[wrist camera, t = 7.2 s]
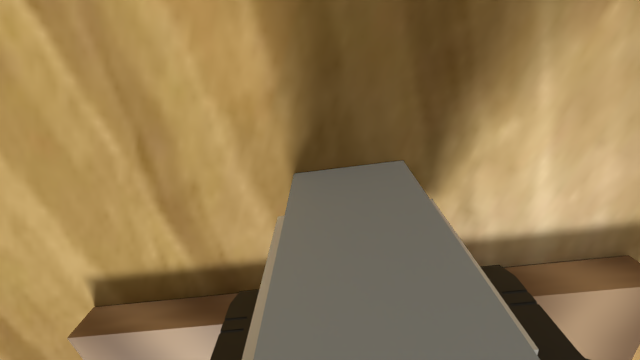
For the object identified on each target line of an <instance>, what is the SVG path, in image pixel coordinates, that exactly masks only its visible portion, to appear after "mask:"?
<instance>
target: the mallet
mask: <svg viewBox="0 0 640 360" xmlns="http://www.w3.org/2000/svg"><path fill="white" fill-rule="evenodd" d="M253 360H540V359H539V357H538V356H537V354H536V353H535V351H534V350H533V349H532V347H531V346H530V344H529V343H528V341H527V340H526V338H525V337H524V335H523V334H522V333H521V331H520V330H519V328H518V327H517V325H516V324H515V322H514V321H513V319H512V318H511V317H510V315H509V314H508V312H507V311H506V309H505V308H504V306H503V305H502V303H501V302H500V301H499V299H498V298H497V296H496V295H495V293H494V292H493V290H492V289H491V287H490V286H489V285H488V283H487V282H486V280H485V279H484V277H483V276H482V274H481V273H480V271H479V270H478V269H477V267H476V266H475V264H474V263H473V261H472V260H471V258H470V257H469V255H468V254H467V253H466V251H465V250H464V248H463V247H462V245H461V244H460V242H459V241H458V239H457V238H456V237H455V235H454V234H453V232H452V231H451V229H450V228H449V226H448V225H447V223H446V222H445V221H444V219H443V218H442V216H441V215H440V213H439V212H438V210H437V209H436V207H435V206H434V205H433V203H432V202H431V200H430V199H429V197H428V196H427V194H426V193H425V191H424V190H423V189H422V187H421V186H420V184H419V183H418V181H417V180H416V178H415V177H414V175H413V174H412V173H411V171H410V170H409V168H408V167H407V165H406V164H405V162H404V161H403V160H402V161H393V162H385V163H377V164H369V165H361V166H352V167H344V168H336V169H328V170H320V171H312V172H303V173H295V174H294V175H293V180H292V185H291V189H290V194H289V198H288V203H287V207H286V212H285V217H284V221H283V226H282V230H281V235H280V239H279V244H278V249H277V253H276V258H275V262H274V267H273V271H272V276H271V281H270V285H269V290H268V294H267V299H266V304H265V308H264V313H263V317H262V322H261V326H260V331H259V336H258V340H257V345H256V349H255V354H254V358H253Z"/></svg>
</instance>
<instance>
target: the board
mask: <svg viewBox="0 0 640 360" xmlns="http://www.w3.org/2000/svg"><path fill="white" fill-rule="evenodd" d="M505 269H506V270H508V271H509V272H511V273H512V274H514V275H515V276H516V277H517V278H518V279H519V281H520V282H521V283H522V284H523V285H524V287H525V288H526V289H527V292H529V293H530V294H531V295H532V296H533V297H534V299H535V300H536V301H537V304H539V305H540V306H541V307H542V308H543V310H544V311H545V312H546V313H547V314H548V316H549V317H550V318H551V319H552V320H553V322H554V323H555V324H556V325H557V326H558V328H559V329H560V330H561V331H562V332H563V334H564V335H565V336H566V337H567V338H568V340H569V341H570V342H571V343H572V344H573V346H574V347H575V348H576V349H577V350H578V351H579V352H580V353H581V355H582V356H583V357H584V358H586V359H590V360H632V358H633V356H634V354H635V352H636V350H637V348H638V346H639V344H640V263H639V262H637V261H636V260H634V259H633V258H631V257H630V256H621V257H610V258H600V259H589V260H579V261H569V262H558V263H548V264H537V265H527V266H517V267H506V268H505ZM237 294H238V293H236V294H225V295H215V296H205V297H194V298H184V299H173V300H163V301H153V302H142V303H132V304H121V305H111V306H101V307H94V308H93V309H92V310H91V311H90V312H89V313H88V315H87V316H86V317H85V318H84V319H83V320H82V321H81V323H80V324H79V325H78V326H77V327H76V328H75V330H74V331H73V332H72V333H71V334H70V335H69V337H68V338H67V339H68V340H69V341H70V343H71V344H72V345H73V347H74V348H75V349H76V351H77V352H78V353H79V355H80V356H81V357H82V358H83V360H210V359H211V356H212V353H213V350H214V347H215V344H216V342H217V339H218V336H219V334H220V330H221V327H222V325H223V322H224V321H225V316H226V313H227V310H228V308H229V305H230V303H231V302H232V301H233V299H234V298H235V297H236V296H237Z"/></svg>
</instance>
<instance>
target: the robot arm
mask: <svg viewBox="0 0 640 360" xmlns="http://www.w3.org/2000/svg"><path fill="white" fill-rule="evenodd" d="M430 200H431V202H432V203H433V205H434V206H435V207H436V209H437V210H438V212H439V213H440V215H441V216H442V218H443V219H444V221H445V222H446V223H447V225H448V226H449V228H450V229H451V231H452V232H453V234H454V235H455V237H456V238H457V239H458V241H459V242H460V244H461V245H462V247H463V248H464V250H465V251H466V253H467V254H468V255H469V257H470V258H471V260H472V261H473V263H474V264H475V266H476V267H477V269H478V270H479V271H480V273H481V274H482V276H483V277H484V279H485V280H486V282H487V283H488V285H489V286H490V287H491V289H492V290H493V292H494V293H495V295H496V296H497V298H498V299H499V301H500V302H501V303H502V305H503V306H504V308H505V309H506V311H507V312H508V314H509V315H510V317H511V318H512V319H513V321H514V322H515V324H516V325H517V327H518V328H519V330H520V331H521V333H522V334H523V335H524V337H525V338H526V340H527V341H528V343H529V344H530V346H531V347H532V349H533V350H534V351H535V353H536V354H537V356H538V357H539V359H540V360H590V359H586V358H584V357H583V356H582V355H581V353H580V352H579V351H578V350H577V349H576V348H575V347H574V346H573V344H572V343H571V342H570V341H569V340H568V338H567V337H566V336H565V335H564V334H563V332H562V331H561V330H560V329H559V328H558V326H557V325H556V324H555V323H554V322H553V320H552V319H551V318H550V317H549V316H548V314H547V313H546V312H545V311H544V310H543V308H542V307H541V306H540V305H539V304H537V301H536V300H535V299H534V297H533V296H532V295H531V294H530V293H529V292H527V289H526V288H525V287H524V285H523V284H522V283H521V282H520V281H519V279H518V278H517V277H516V276H515V275H514V274H512V273H511V272H509V271H508V270H506V269H505V268H503V267H502V266H500V265H493V266H483V267H480V266H479V264H478V263H477V262H476V260H475V259H474V257H473V256H472V255H471V253H470V252H469V250H468V249H467V247H466V246H465V245H464V243H463V242H462V240H461V239H460V238H459V236H458V235H457V233H456V232H455V231H454V229H453V228H452V226H451V225H450V223H449V222H448V221H447V219H446V218H445V216H444V215H443V214H442V212H441V211H440V209H439V208H438V207H437V205H436V204H435V202H434V201H433V199H430ZM284 217H285V216H278V218H277V222H276V226H275V230H274V234H273V238H272V241H271V245H270V249H269V253H268V257H267V261H266V265H265V269H264V273H263V277H262V281H261V285H260V289H259V290H249V291H240V292H239V293H238V294H237V296H236V297H235V298H234V299H233V301H232V302H231V303H230V305H229V308H228V310H227V313H226V316H225V321H224V322H223V325H222V327H221V330H220V334H219V336H218V339H217V342H216V344H215V347H214V350H213V353H212V356H211V359H210V360H253V358H254V354H255V349H256V345H257V340H258V336H259V331H260V326H261V322H262V317H263V313H264V308H265V304H266V299H267V294H268V290H269V285H270V281H271V276H272V271H273V267H274V262H275V258H276V253H277V249H278V244H279V239H280V235H281V230H282V226H283V221H284Z"/></svg>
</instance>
